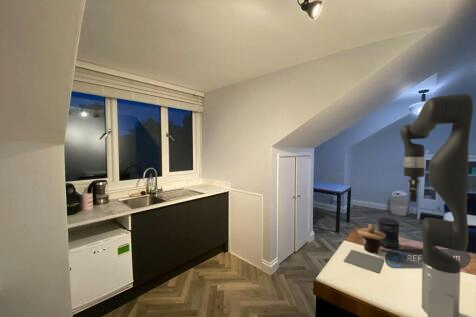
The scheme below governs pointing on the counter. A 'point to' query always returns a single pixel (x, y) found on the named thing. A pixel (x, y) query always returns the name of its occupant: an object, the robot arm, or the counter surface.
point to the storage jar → (389, 233)
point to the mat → (364, 261)
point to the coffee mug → (371, 244)
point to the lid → (371, 232)
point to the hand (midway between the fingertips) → (413, 199)
